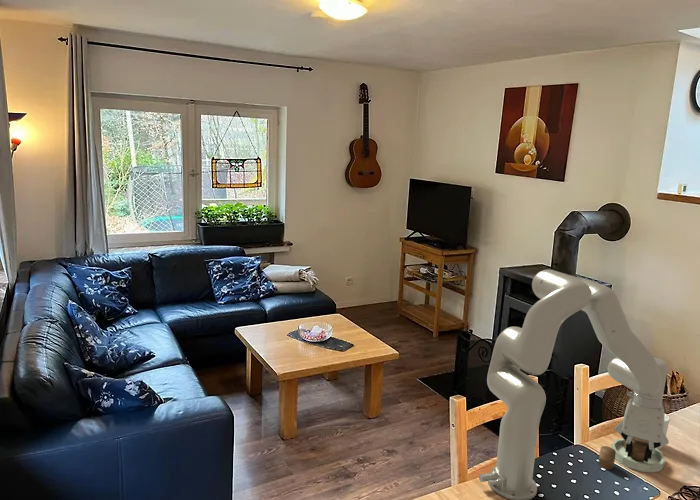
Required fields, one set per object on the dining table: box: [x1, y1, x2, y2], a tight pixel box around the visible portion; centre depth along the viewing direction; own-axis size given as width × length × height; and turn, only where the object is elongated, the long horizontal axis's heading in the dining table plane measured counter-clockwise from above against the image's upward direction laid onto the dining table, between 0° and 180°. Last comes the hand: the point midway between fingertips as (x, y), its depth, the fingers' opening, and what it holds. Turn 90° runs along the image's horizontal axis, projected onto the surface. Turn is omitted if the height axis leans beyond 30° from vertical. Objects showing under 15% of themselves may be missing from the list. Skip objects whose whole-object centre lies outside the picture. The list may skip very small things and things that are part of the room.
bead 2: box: [630, 439, 648, 462], centre depth 155 cm, size 4×4×5 cm
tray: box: [610, 437, 666, 474], centre depth 158 cm, size 14×14×6 cm
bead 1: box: [597, 445, 616, 470], centre depth 154 cm, size 4×4×5 cm
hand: (637, 456), depth 156 cm, fingers closed on bead 2, 4 cm apart
